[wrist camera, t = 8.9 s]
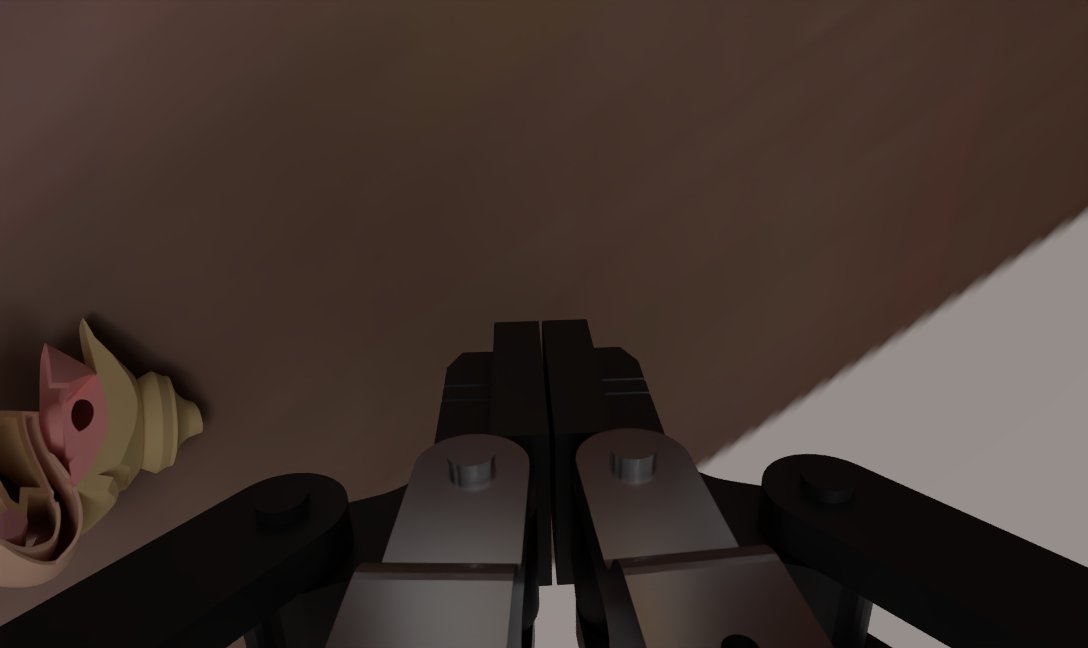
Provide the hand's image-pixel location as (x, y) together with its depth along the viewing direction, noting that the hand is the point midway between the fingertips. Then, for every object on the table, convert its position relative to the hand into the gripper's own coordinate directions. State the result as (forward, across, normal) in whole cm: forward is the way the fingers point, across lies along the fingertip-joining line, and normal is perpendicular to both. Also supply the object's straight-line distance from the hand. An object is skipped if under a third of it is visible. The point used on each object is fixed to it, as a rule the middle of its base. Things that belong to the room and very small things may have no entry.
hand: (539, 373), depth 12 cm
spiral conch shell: (+17, +18, +10) cm, 27 cm away
